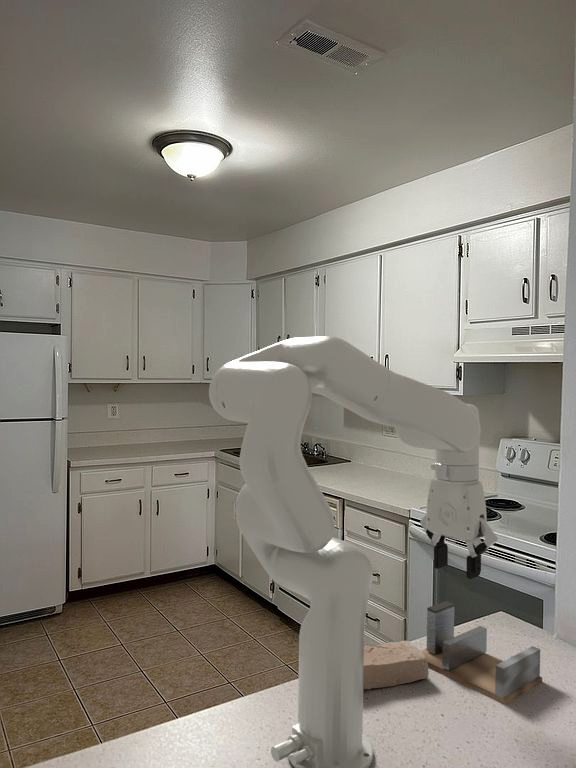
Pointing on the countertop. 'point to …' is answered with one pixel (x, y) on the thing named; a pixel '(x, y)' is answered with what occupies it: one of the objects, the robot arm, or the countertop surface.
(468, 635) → the free jaw
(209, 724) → the countertop surface
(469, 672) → the vise base
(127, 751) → the countertop surface
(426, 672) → the brick
